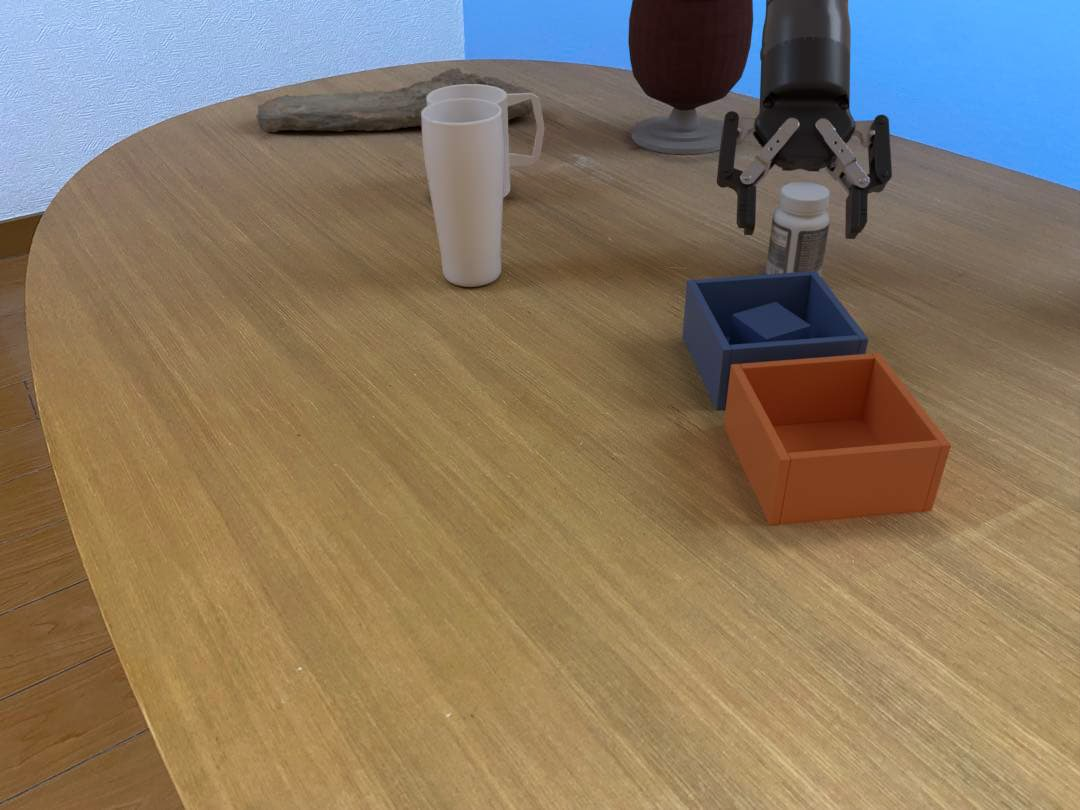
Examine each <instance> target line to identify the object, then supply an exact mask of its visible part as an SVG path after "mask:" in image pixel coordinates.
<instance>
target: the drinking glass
mask: <svg viewBox="0 0 1080 810" xmlns="http://www.w3.org/2000/svg"><path fill="white" fill-rule="evenodd" d="M420 127H421V140H422V141H421V142H422V143H421V144H422V152H423V160H424V161H423V162H424V168H425V173H426V180H427V185H428V190H429V195H430V202H431V207H432V212H433V217H434V223H435V229H436V235H437V241H438V246H439V252H440V258H441V270H442V275H443V277H444V278H445V280H446V281H448V283H450V284H453V285H455V286H457V287H463V288H477V287H483V286H486V285H489V284H491V283H493V282H495V281H496V280H498V278H499V277H500V275H501V274H502V271H503V270H502V269H503V265H502V264H503V263H502V262H503V261H502V237H503V213H504V211H503V210H504V197H503V194H504V173H505V139H504V125H503V115H502V108H501V107H500V106H499V105H498V104H496V103H494V102H491V101H488V100H483V99H474V98H458V99H449V100H443V101H439V102H436V103H433V104H430V105H428V106H427V107H425V108H424V109H423V110H422V112H421V126H420Z"/></svg>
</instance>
